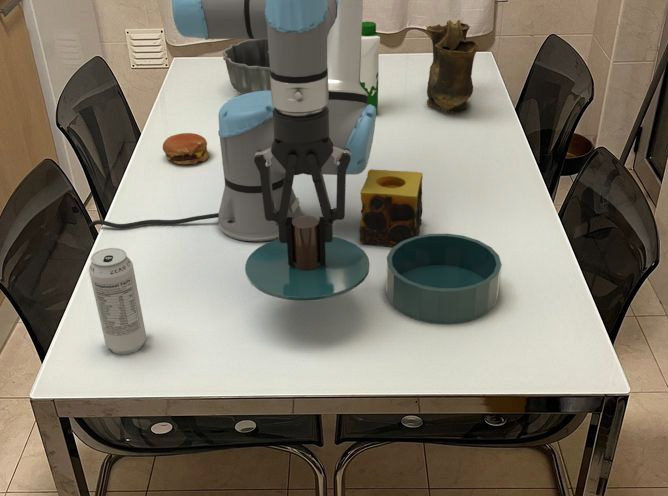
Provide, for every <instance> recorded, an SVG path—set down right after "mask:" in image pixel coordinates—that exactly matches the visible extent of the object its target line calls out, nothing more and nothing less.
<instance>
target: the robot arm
mask: <svg viewBox="0 0 668 496" xmlns="http://www.w3.org/2000/svg"><path fill="white" fill-rule="evenodd" d="M363 9H364V0H171V12H172V13H171V14H172V17H173V18H172V19H173V22H174V26H175V28H176V30H177V32H178V33H179V35H180V36H182V37H185V38H191V39H192V38H193V39H204V40H205V41H209V40H250V39H268V47H269V61H270V81H271V91H256V92H251V93H247V94H240V95H237V96H235V97H233V98H231V99H229V100H227V101H226V102H225V103H224V104H223V105H222V106H221V107H220V109H219V111H218V133H217V134H218V137H219V144H220V152H221V153H220V154H221V161H222V171H223V179H224V180H223V181H224V189H223V192H222V196H221V201H220V206H219V210H218V212H215V213H208V214H202V215H201V214H200V215H195V216H189V217H185V218H179V219H178V218H177V219H145V220H138V221H133V222H127V223H116V222H111V221H108V220H103V219H96V220H93V221H91V222H90V223H89V224H88V225H87V227H86V228H87V229H92V228H94V227H95V226H97V225H102V226H106V227H110V228H114V229H127V228H128V229H129V228H134V227H140V226H146V225H178V224H186V223H191V222H196V221H197V222H198V221H202V220H209V219H217V218H218V227H219V229H220V230H221V232H222V233H223V234H224V235H226V236H228V237H230V238H232V239H235V240H239V241H244V242H267V241H268V242H270V241H273V240H276V239H279V240H280V242H281V243H287V250H288V265H294V256H293V238H292V220H293V219H295V218H296V217H299V216H302V210H301V206H300V204H301V203H300V200H299V198H298V197H297V196H296V194H295V191H294V189H293V183H294V178H295V176H300V175H307V176H311V178H312V182H313V184H314V189H315V193H316V196H317V201H318V204H319V208H320V213H321V216H319V218H318V220H319V241H320V265H325V260H326V251H325V242H332V240H333V237H334V229H333V227H334V226H333V225H334V222H335V221H337V220H339V221H342V220H344V219H345V216H346V214H345V213H346V185H347V183H346V179H347V176H348V175H349V176H352V175H354V176H355V175H359V174H362V173H363V172H364V171H365V170H366V168H367V166H368V163H369V160H370V156H371V152H372V147H373V142H374V135H375V130H376V129H375V128H376V118H377V115H376V108H375V107H374V106H372V105H371V104H369V105H368V94H367V93H366V91H365V90H364V89H363V88H362V87H361V85H360V64H361V38H362V22H363V13H364V12H363ZM324 175H328V176H331V175H332V176H336V200H335V202H336V206H335V207H334V208H332V206H331V202H330V198H329V194H328V190H327V185H326V181H325V178H324Z"/></svg>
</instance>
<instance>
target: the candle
mask: <svg viewBox="0 0 668 496" xmlns="http://www.w3.org/2000/svg"><path fill="white" fill-rule="evenodd" d="M423 174H424V173H423V172H421V171H408V170H407V171H405V170H388V169H368V171H367V175H366V176H367V177H366V179H365V181H364V183H363V185H362V188H361V190H360V201H361V210H360V214H361V219H360V225H359V236H360V237H359V242H360V243H361V244H364V245H371V246H372V245H373V246H382V247H394V246H396V245H397V244H398V243H400V242H401V241H404V240H406V239H409V238H412V237H415V236H420V233H421V225H422V217H423V200H422V199H423Z"/></svg>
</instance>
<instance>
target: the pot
mask: <svg viewBox="0 0 668 496" xmlns="http://www.w3.org/2000/svg"><path fill="white" fill-rule="evenodd" d="M502 265H503V264H502V261H501V258H500V255H499V254H498V253H497V251H495V250H494V248H492V247H491V246H490V245H488V244H486V243H484V242H482V241H481V240H478V239H476V238H472V237H470V236H465V235H463V234H462V235H460V234H453V233H427V234H421V235H420V234H419V236H415V237H412V238H409V239H406V240H404V241H401V242H400V243H398V244H397V245H396V246H392V248H391V249H390V250H389V252H388V254H387V256H386V273H385V277H386V279H385V288H386V289H385V290H386V299H387V300H388V302H389V304H390V305H391V306H392V307H393V308H394V309H395V310H396V311H397V312H399V313H400V314H402V315H404V316H406V317H408V318H410V319H413V320H416V321H419V322H423V323H428V324H436V325H456V324H457V325H458V324H463V323H468V322H472V321H475V320H477V319H479V318H481V317H483V316H485V315H487V314H489V312H491V310H493V309H494V307H495V306H496V304H497V301H498V296H499V290H500V283H501V274H502Z"/></svg>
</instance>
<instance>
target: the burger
mask: <svg viewBox="0 0 668 496" xmlns="http://www.w3.org/2000/svg"><path fill="white" fill-rule="evenodd" d="M207 146H208V142H207V139H206V138H205V137H204V136H202V135H200V134H198V133H192V132H183V133H182V132H181V133H177V134H173V135H170V136H169V137H167V138H166V139H165V140H164V141H163V143H162V151H163V152H164V154H165V157H166V158H167V160H168V161H171V162H173V163H174V164H177V165H191V164H192V165H196V164H197V163H198V162H205V161H206V160H208V159H209V156H210V155H209V150H208V147H207Z"/></svg>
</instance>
